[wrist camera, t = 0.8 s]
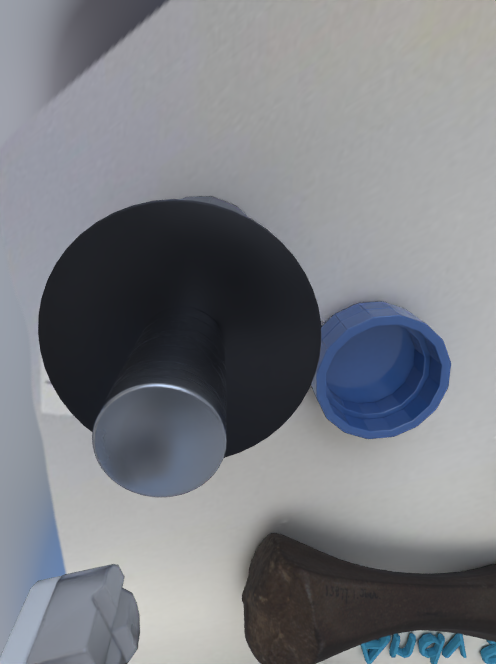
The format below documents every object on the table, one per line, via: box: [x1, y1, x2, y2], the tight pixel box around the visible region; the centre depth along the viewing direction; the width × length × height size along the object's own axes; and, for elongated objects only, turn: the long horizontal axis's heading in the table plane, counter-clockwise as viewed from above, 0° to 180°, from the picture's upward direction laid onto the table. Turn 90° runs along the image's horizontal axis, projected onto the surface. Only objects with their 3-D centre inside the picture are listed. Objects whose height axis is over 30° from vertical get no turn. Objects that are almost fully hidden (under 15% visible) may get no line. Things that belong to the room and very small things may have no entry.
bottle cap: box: [311, 301, 451, 439], centre depth 33 cm, size 10×10×4 cm
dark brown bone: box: [242, 533, 496, 664], centre depth 39 cm, size 11×10×28 cm
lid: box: [38, 199, 321, 497], centre depth 13 cm, size 10×10×7 cm
